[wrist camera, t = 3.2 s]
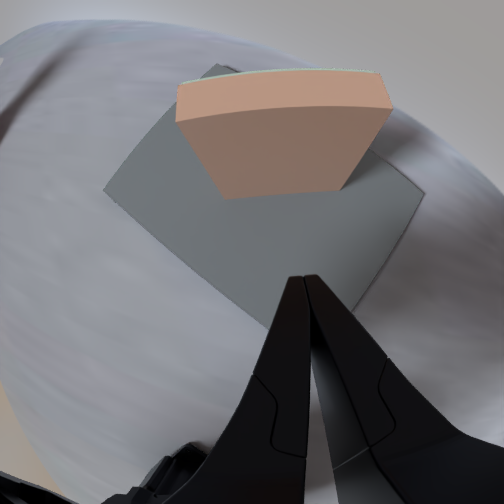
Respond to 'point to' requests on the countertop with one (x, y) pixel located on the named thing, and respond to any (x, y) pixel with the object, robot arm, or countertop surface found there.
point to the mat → (263, 222)
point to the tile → (282, 127)
